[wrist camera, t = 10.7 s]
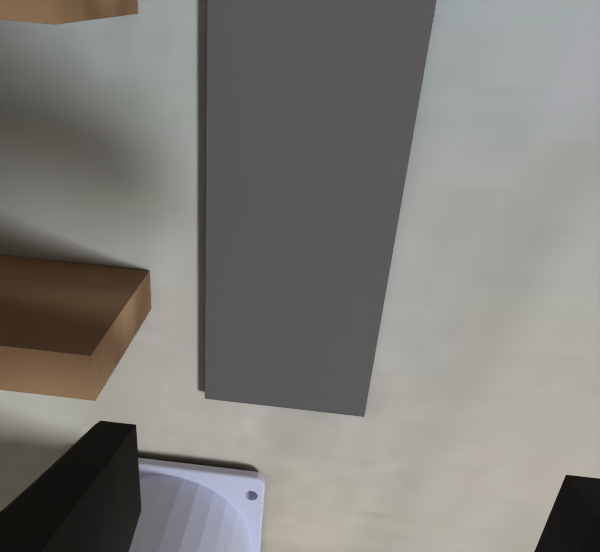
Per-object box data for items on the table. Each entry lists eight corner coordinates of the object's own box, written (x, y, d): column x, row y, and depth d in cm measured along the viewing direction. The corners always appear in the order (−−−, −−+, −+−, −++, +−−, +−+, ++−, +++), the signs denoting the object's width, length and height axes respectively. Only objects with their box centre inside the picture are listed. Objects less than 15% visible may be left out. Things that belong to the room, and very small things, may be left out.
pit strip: (363, 411, 21) (363, 416, 21) (206, 393, 22) (204, 398, 21) (467, -192, 13) (470, -195, 13) (211, -213, 13) (208, -217, 13)
